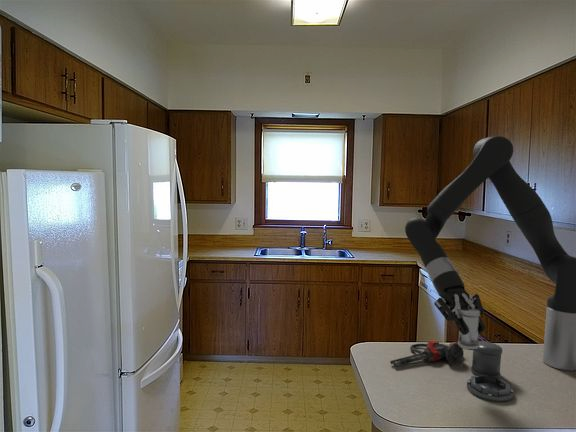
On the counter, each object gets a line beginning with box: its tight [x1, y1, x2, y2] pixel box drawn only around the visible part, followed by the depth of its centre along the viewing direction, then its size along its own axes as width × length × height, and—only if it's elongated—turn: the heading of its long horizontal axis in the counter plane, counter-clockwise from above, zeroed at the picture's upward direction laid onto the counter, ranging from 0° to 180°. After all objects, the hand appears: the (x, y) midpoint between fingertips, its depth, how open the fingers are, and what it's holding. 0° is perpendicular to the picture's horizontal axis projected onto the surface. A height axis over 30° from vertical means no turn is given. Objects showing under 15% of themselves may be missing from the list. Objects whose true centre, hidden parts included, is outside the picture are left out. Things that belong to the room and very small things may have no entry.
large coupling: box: [470, 340, 503, 379], centre depth 118 cm, size 8×8×8 cm
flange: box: [466, 374, 514, 403], centre depth 108 cm, size 11×11×2 cm
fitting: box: [457, 306, 481, 351], centre depth 109 cm, size 5×5×10 cm
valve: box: [389, 340, 464, 367], centre depth 128 cm, size 6×26×15 cm
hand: (474, 332), depth 107 cm, fingers closed on fitting, 4 cm apart
